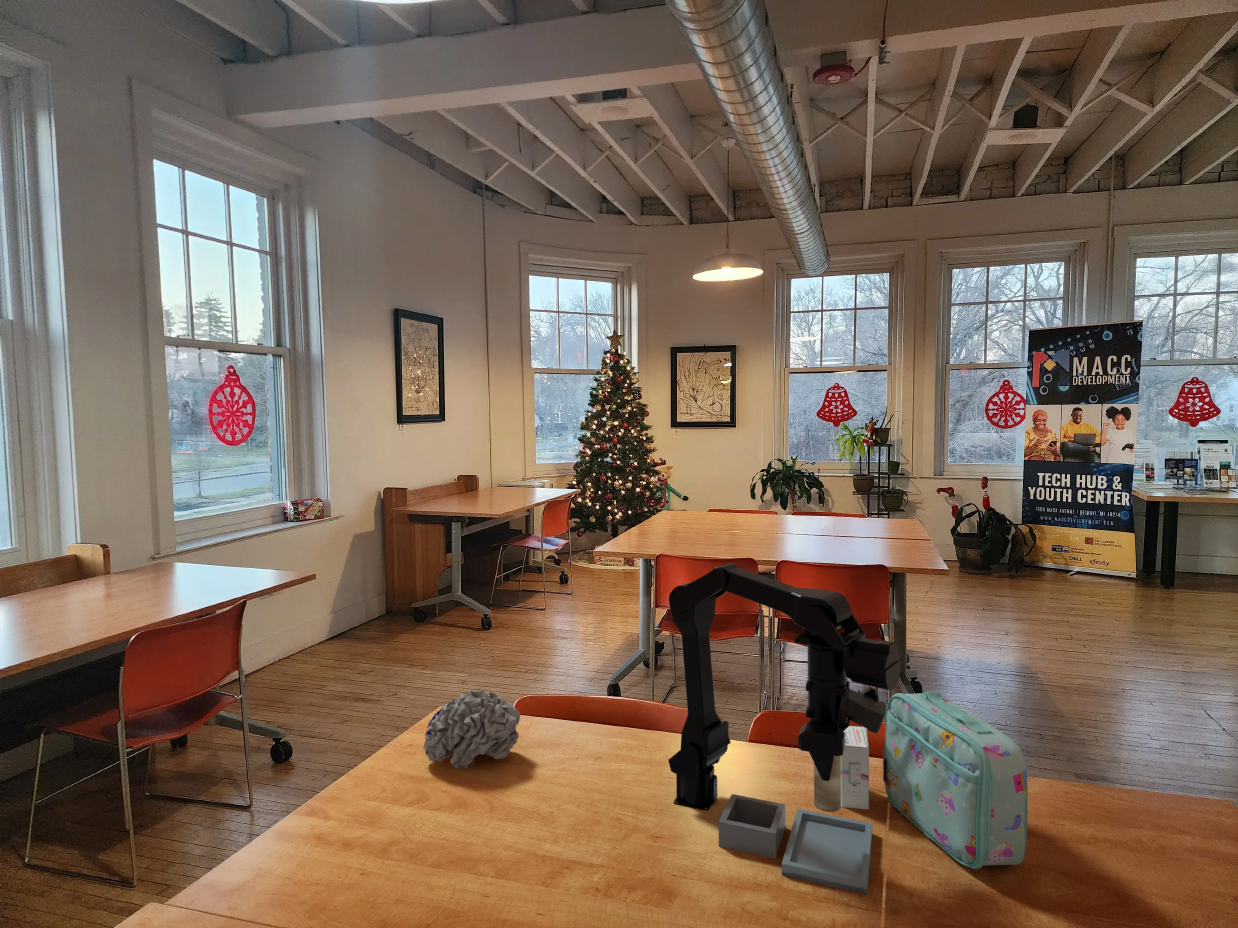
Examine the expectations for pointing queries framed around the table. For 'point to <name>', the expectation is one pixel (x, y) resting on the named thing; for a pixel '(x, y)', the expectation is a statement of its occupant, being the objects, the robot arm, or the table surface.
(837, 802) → the dowel
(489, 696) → the educational model
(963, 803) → the lunch box
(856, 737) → the ink cartridge box
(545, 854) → the table surface
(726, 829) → the grey square bin
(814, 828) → the tray
